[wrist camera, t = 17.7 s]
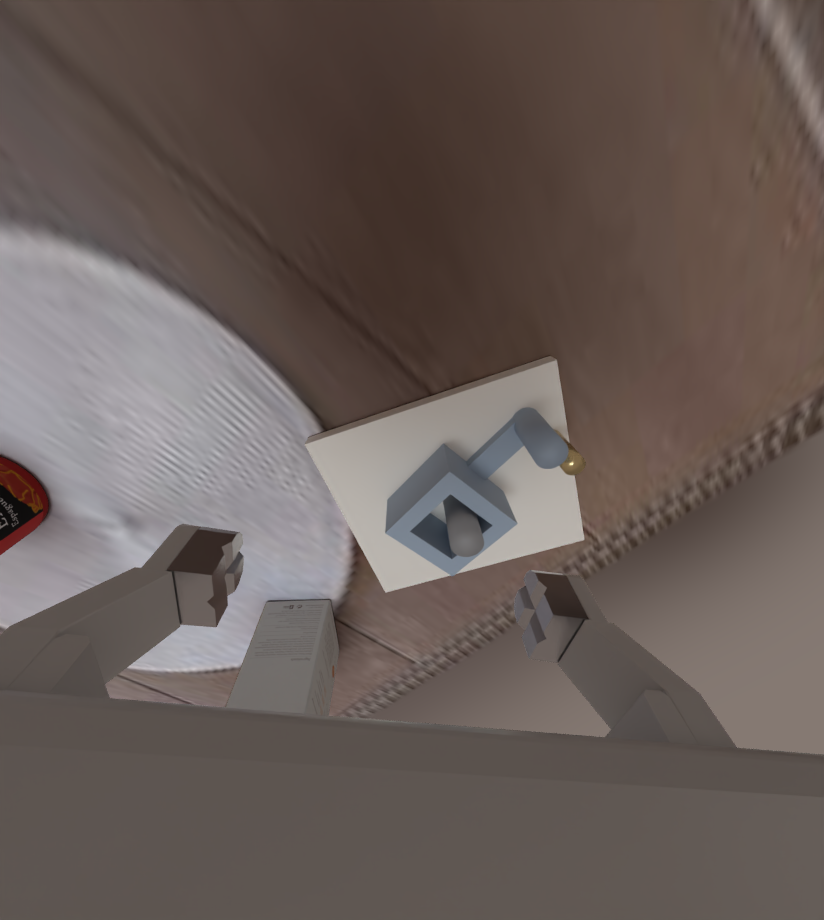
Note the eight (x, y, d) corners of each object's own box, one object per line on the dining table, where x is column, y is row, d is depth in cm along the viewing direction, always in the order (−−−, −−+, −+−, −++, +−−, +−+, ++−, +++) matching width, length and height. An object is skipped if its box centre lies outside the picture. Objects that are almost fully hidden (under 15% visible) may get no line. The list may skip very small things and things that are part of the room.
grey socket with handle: (505, 381, 24) (528, 407, 20) (565, 437, 26) (597, 473, 22) (387, 499, 29) (384, 543, 24) (446, 540, 31) (454, 586, 26)
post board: (308, 437, 27) (282, 486, 21) (550, 355, 25) (596, 385, 19) (386, 582, 35) (382, 648, 29) (578, 530, 32) (617, 591, 26)
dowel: (540, 432, 26) (561, 459, 23) (559, 426, 26) (584, 452, 22) (543, 449, 27) (564, 477, 23) (562, 443, 27) (586, 471, 23)
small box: (265, 599, 35) (199, 762, 24) (331, 598, 35) (297, 759, 24) (281, 652, 39) (231, 813, 28) (340, 650, 39) (315, 810, 28)
